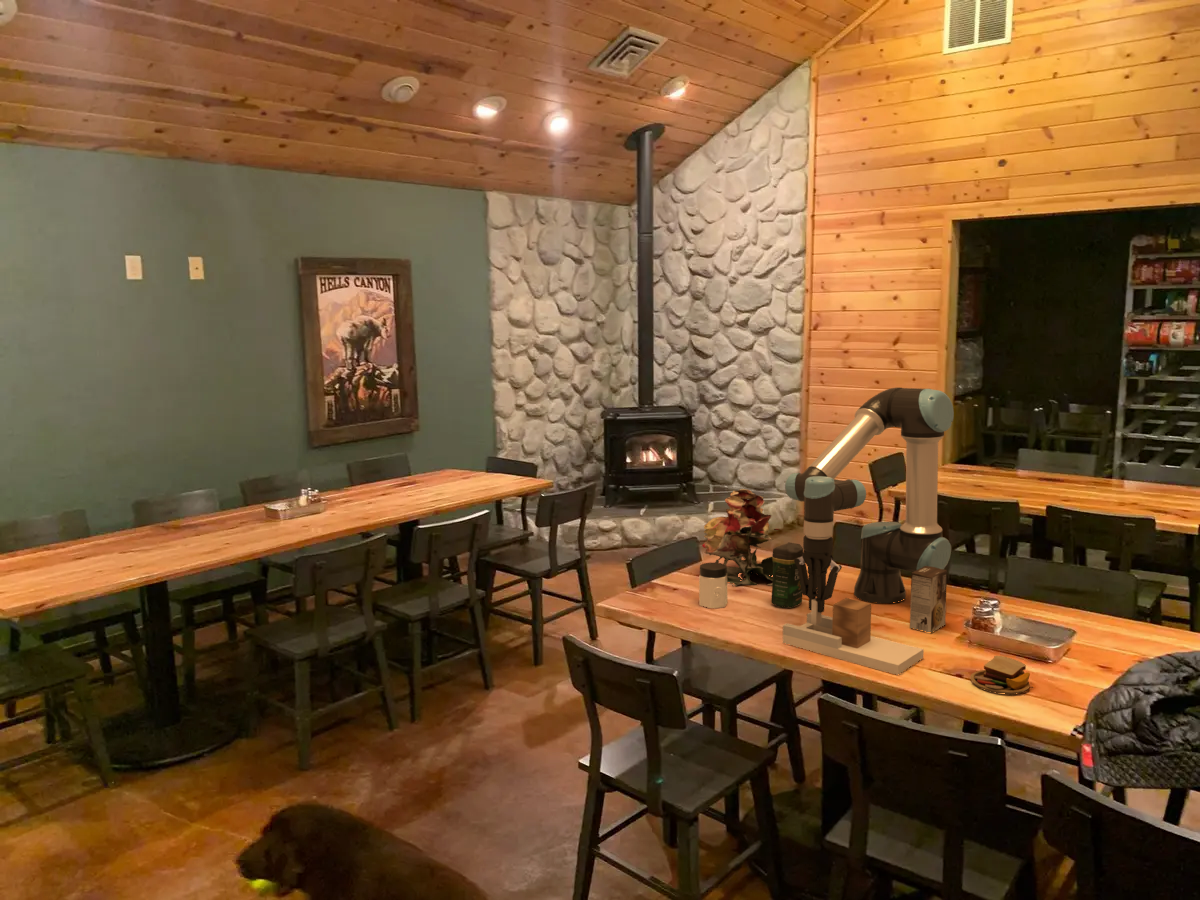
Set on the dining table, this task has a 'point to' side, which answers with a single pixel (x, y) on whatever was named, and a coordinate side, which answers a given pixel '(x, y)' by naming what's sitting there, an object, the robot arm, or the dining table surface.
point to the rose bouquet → (740, 537)
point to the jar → (713, 585)
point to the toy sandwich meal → (1002, 676)
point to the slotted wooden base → (870, 654)
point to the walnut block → (852, 622)
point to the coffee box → (928, 598)
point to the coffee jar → (786, 576)
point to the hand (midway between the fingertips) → (816, 622)
